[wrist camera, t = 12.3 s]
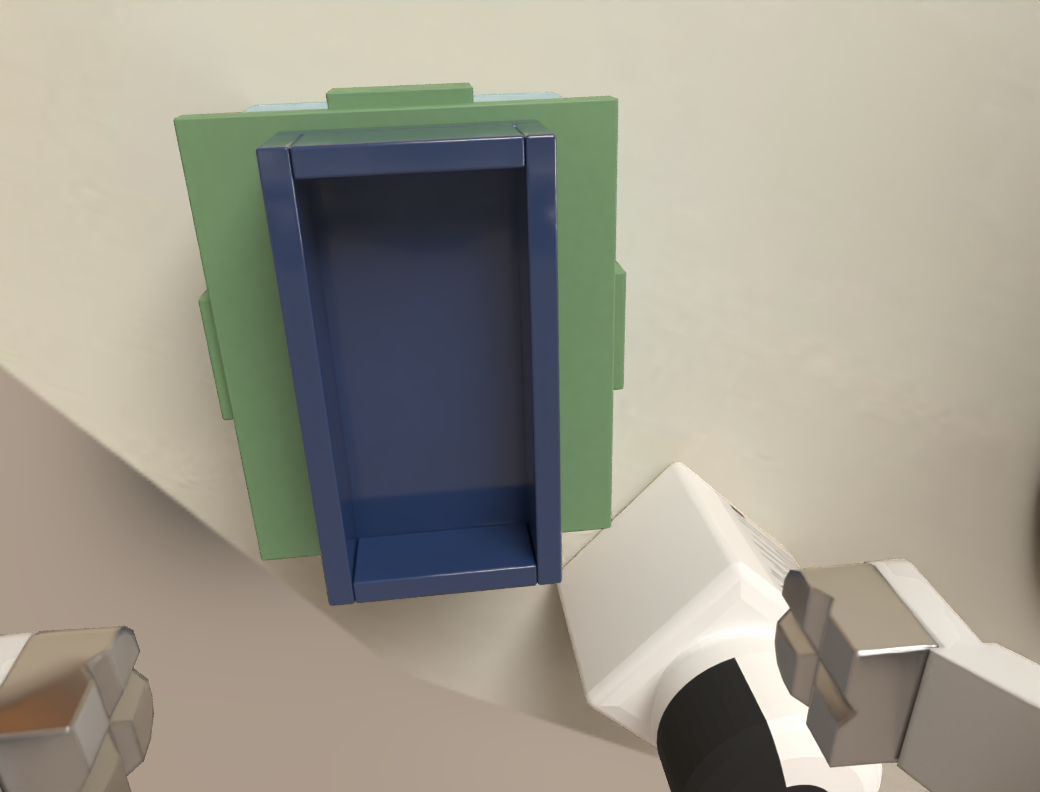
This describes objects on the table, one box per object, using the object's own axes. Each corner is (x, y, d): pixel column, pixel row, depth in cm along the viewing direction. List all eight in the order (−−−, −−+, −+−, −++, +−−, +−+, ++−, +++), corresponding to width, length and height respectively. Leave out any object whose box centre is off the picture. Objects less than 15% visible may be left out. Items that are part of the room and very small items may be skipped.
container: (667, 656, 39) (777, 930, 27) (550, 575, 36) (615, 841, 24) (788, 548, 37) (962, 792, 25) (675, 454, 34) (810, 679, 22)
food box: (223, 80, 26) (151, 101, 19) (577, 65, 27) (634, 80, 20) (287, 449, 32) (250, 573, 25) (578, 425, 33) (623, 538, 26)
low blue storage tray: (276, 131, 20) (254, 148, 17) (538, 118, 20) (557, 133, 18) (338, 543, 25) (328, 607, 22) (547, 524, 25) (562, 583, 23)
